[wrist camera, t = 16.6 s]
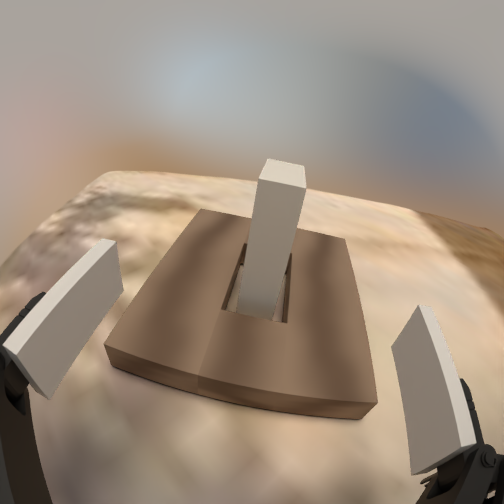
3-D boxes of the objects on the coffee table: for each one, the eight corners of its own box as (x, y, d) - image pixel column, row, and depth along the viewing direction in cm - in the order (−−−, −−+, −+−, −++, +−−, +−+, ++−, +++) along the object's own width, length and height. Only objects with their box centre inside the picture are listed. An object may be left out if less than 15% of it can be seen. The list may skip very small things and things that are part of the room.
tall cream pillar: (276, 282, 28) (304, 166, 22) (270, 325, 23) (306, 188, 17) (246, 276, 29) (267, 158, 22) (235, 317, 23) (258, 178, 17)
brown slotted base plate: (338, 255, 35) (344, 238, 34) (361, 419, 16) (377, 402, 15) (199, 226, 36) (200, 208, 34) (111, 365, 17) (103, 343, 16)
